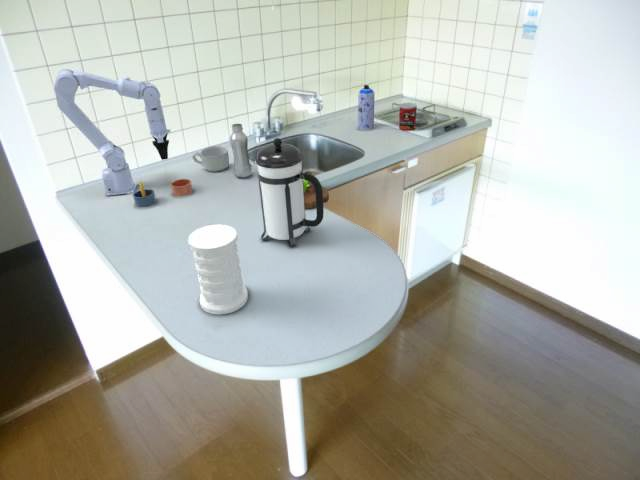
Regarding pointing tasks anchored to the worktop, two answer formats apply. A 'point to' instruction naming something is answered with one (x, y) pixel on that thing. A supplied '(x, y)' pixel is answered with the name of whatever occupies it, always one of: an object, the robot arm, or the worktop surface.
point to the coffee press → (285, 192)
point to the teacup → (213, 158)
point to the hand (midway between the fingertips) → (164, 155)
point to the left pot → (144, 198)
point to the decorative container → (218, 268)
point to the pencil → (142, 189)
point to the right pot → (181, 187)
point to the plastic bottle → (240, 151)
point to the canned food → (407, 116)
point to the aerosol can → (366, 109)
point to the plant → (312, 193)
